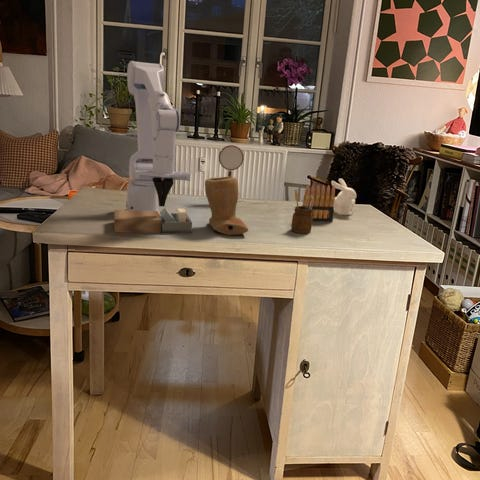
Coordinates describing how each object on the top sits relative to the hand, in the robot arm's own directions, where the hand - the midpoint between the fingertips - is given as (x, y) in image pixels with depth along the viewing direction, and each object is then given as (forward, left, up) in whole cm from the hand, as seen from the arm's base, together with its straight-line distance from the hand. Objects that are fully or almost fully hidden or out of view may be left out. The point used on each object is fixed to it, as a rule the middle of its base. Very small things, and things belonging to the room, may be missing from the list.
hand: (161, 205), depth 138 cm
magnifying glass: (+27, +35, -7) cm, 45 cm away
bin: (+4, 0, -6) cm, 7 cm away
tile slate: (+1, 0, -4) cm, 4 cm away
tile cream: (+5, 0, -3) cm, 6 cm away
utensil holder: (+41, -1, -7) cm, 42 cm away
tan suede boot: (+18, 0, -7) cm, 19 cm away
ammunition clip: (+51, +11, -7) cm, 53 cm away
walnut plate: (-6, 0, -6) cm, 9 cm away
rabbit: (+66, +23, -7) cm, 70 cm away
